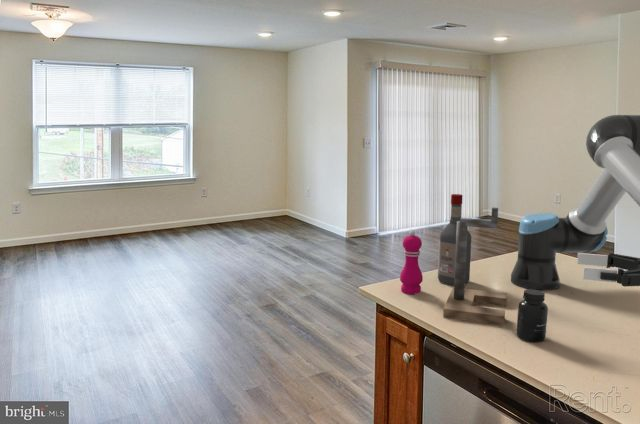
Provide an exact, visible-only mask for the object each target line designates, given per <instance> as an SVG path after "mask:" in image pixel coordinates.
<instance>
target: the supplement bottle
mask: <svg viewBox="0 0 640 424" xmlns="http://www.w3.org/2000/svg"><path fill="white" fill-rule="evenodd" d="M545 294H546V293H545V292H544V291H542V290H539V289H530V288H526V289H525V290H523V296H522V300H520V301H519V303H518V309H517V321H516V330H515V331H516V337H517V338H518V339H521V340H523V341H525V342H530V343H542V342H544V341H545V340H546V337H547V336H546V335H547V326H548V325H547V324H548V315H549V314H548V313H549V307H548V305H547V304H546V303H545Z"/></svg>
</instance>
